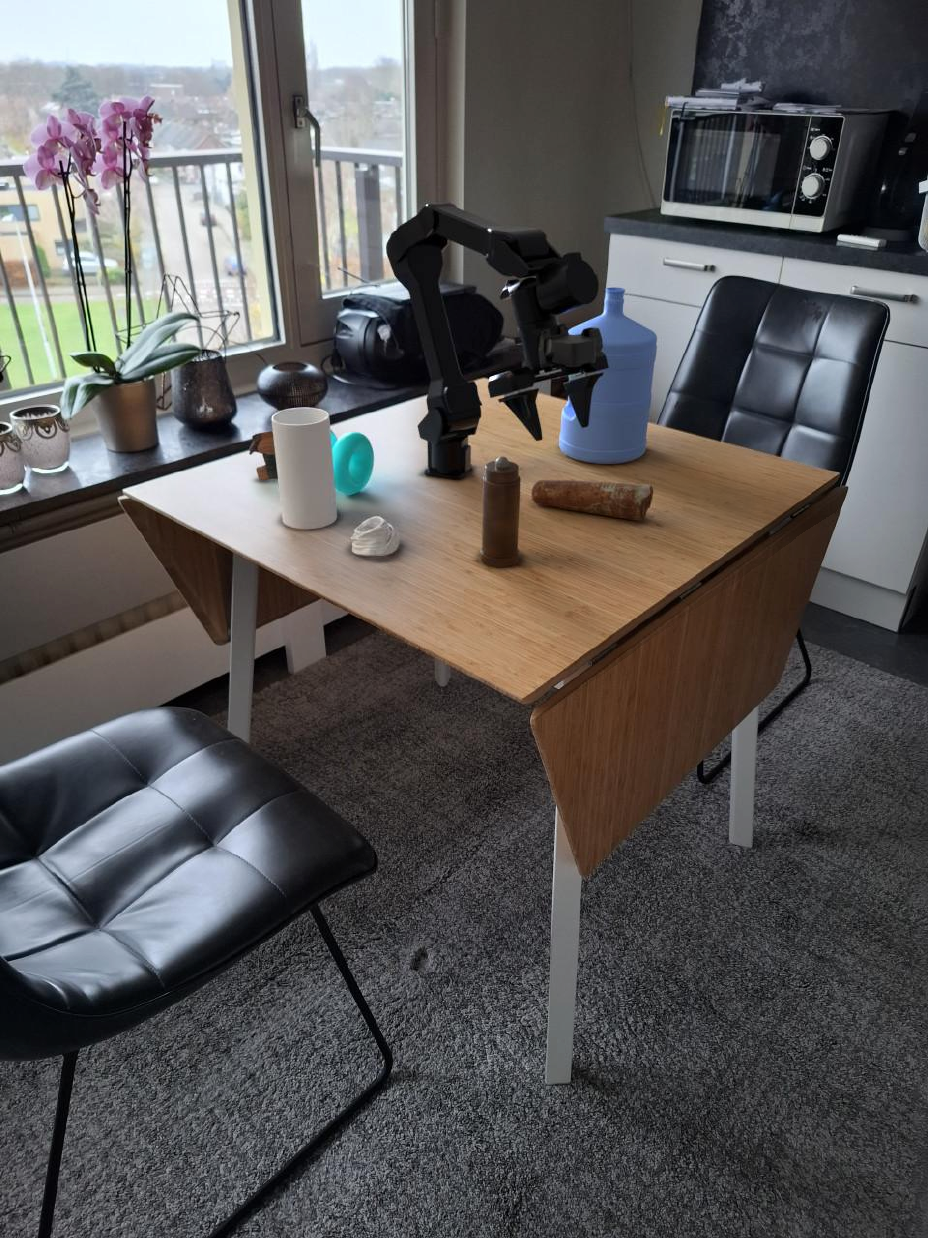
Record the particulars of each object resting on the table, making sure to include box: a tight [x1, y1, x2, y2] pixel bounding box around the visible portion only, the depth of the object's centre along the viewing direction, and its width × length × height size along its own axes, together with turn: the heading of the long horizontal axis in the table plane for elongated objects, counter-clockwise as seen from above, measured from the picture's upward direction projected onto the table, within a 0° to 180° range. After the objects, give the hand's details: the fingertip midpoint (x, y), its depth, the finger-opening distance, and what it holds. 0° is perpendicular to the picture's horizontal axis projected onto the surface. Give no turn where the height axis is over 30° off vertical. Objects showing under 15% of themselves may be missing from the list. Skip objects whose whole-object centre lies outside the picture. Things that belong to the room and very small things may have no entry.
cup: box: [271, 407, 338, 530], centre depth 130 cm, size 8×8×16 cm
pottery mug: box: [248, 430, 278, 481], centre depth 150 cm, size 12×10×8 cm
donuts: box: [330, 428, 375, 496], centre depth 142 cm, size 10×10×10 cm
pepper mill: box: [479, 456, 521, 568], centre depth 119 cm, size 5×5×15 cm
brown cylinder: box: [530, 479, 654, 521], centre depth 136 cm, size 6×19×6 cm, turn 66°
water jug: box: [558, 287, 658, 465], centre depth 153 cm, size 16×16×28 cm
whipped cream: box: [350, 516, 400, 557], centre depth 124 cm, size 8×7×5 cm
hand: (562, 433), depth 127 cm, fingers open, 9 cm apart
